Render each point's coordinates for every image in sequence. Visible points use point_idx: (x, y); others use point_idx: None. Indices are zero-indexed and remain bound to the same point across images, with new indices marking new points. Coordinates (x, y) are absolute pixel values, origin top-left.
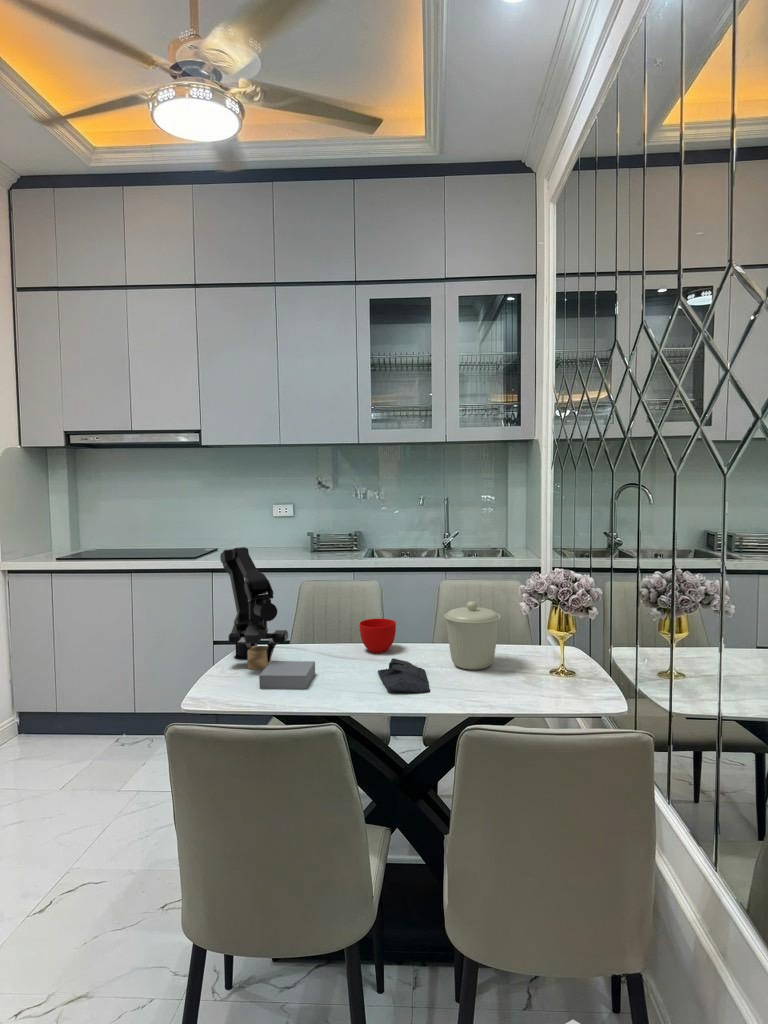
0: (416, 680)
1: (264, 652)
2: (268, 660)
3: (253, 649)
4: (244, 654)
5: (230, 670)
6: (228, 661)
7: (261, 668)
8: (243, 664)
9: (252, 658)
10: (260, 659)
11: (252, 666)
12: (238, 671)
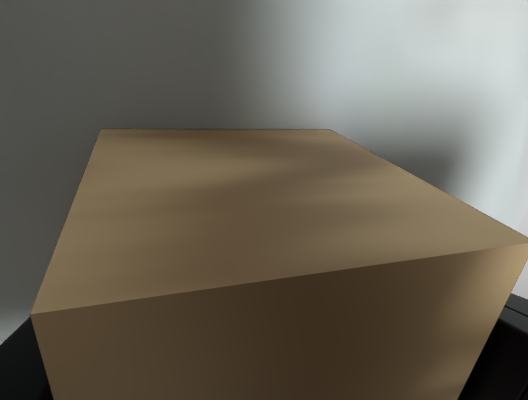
0: None
1: (81, 274)
2: None
3: (413, 358)
4: None
5: (486, 87)
6: None
7: (169, 132)
8: None
9: (344, 178)
10: (196, 178)
11: (293, 139)
12: (420, 48)
